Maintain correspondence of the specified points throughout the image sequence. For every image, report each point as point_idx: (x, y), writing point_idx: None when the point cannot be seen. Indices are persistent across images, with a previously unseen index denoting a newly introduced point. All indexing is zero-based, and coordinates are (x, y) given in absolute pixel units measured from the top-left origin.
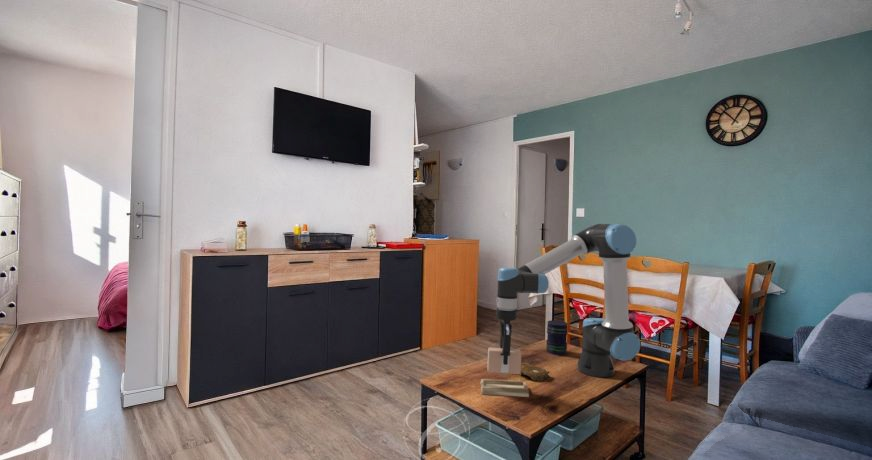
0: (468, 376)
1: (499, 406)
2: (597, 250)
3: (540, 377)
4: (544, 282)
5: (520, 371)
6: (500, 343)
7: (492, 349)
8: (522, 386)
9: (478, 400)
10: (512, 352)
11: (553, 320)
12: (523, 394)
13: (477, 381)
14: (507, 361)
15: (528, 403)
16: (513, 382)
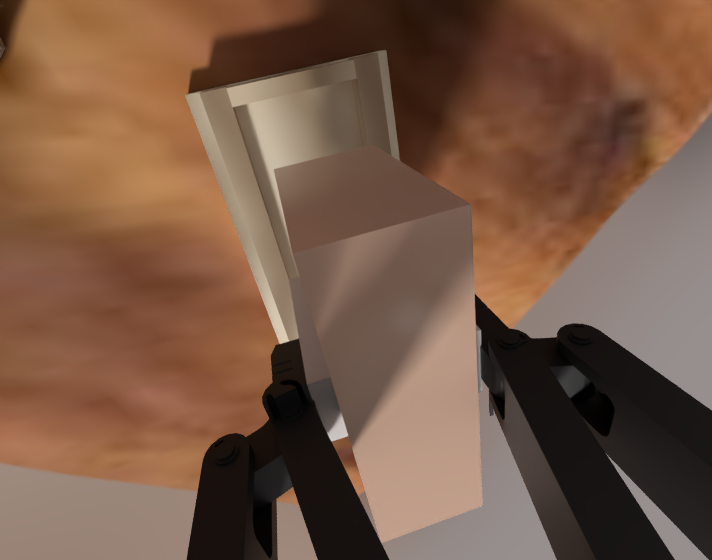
0: (215, 419)
1: (525, 211)
2: None
3: None
4: None
5: (380, 149)
6: (275, 528)
7: (439, 500)
8: (258, 107)
9: None
10: (472, 322)
11: None
12: (390, 92)
13: (262, 368)
14: (485, 305)
15: (474, 52)
16: (257, 182)
